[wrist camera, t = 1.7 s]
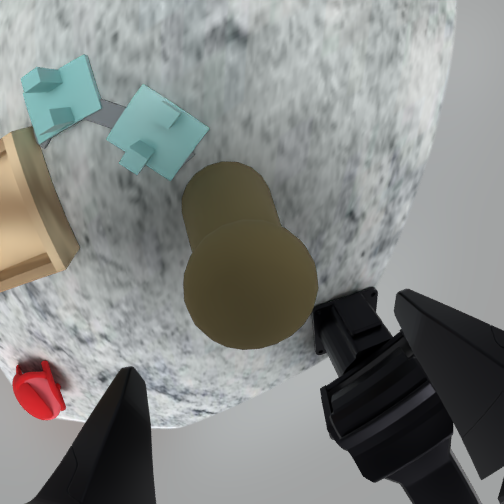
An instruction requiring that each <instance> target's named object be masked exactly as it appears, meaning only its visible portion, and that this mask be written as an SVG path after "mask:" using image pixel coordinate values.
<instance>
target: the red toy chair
mask: <svg viewBox="0 0 504 504" xmlns="http://www.w3.org/2000/svg"><path fill="white" fill-rule="evenodd" d="M41 365H42V368H43V371H42V372H27V373H24V374H22V371H21V369H20V367H19V365H17V366H16V375H15V376H14V378H13V391H14V394H15V396H16V398H17V400H18V402H19V403H20V405H21V406H22V407H23V408H24V409H25V410H26V411H27V412H28V413H29V414H31V415H32V416H34V417H36V418H38V419H41V420H51V419H54V418H56V417H57V416H58V415H59V413H60V410H61V411H64V410H65V409H66V406H65V403H64V400H63V397H62V394H61V392H60V389H61V386H60V384H58V383H56V384H55V382H54V379H53V376H52V373H51V370H50V367H49V363H48V361H46V360H44V361H42V362H41Z"/></svg>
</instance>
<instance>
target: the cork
mask: <svg viewBox="0 0 504 504" xmlns="http://www.w3.org/2000/svg"><path fill="white" fill-rule="evenodd" d="M182 215H183V219H184V223H185V227H186V231H187V234H188V238H189V242H190V246H191V250H192V254H191V256H190V258H189V261H188V264H187V267H186V270H185V273H184V282H183V286H184V302H185V304H186V307H187V309H188V311H189V313H190V316H191V318H192V320H193V322H194V324H195V325H196V326H197V327H198V328H199V329H200V330H201V331H202V332H203V333H205V334H206V335H207V336H208V337H209V338H210V339H212V340H213V341H215V342H217V343H219V344H221V345H224V346H226V347H230V348H236V349H242V350H247V349H260V348H264V347H267V346H271V345H274V344H277V343H279V342H281V341H283V340H284V339H286V338H288V337H290V336H292V335H293V334H294V333H295V332H296V331H297V330H298V329H299V328H300V327H302V326H303V325H304V323H305V322H306V320H307V319H308V317H309V315H310V314H311V312H312V310H313V307H314V304H315V300H316V296H317V292H318V280H317V272H316V267H315V263H314V261H313V259H312V257H311V256H310V254H309V252H308V250H307V248H306V247H305V246H304V244H303V243H302V242H301V240H299V239H298V238H297V237H296V236H294V235H293V234H292V233H291V232H289V231H288V230H287V229H285V228H283V227H281V224H280V221H279V218H278V214H277V211H276V208H275V205H274V202H273V199H272V196H271V193H270V190H269V187H268V186H267V184H266V182H265V181H264V179H263V177H262V176H261V175H260V174H259V173H257V172H256V171H255V170H254V169H253V168H251V167H249V166H247V165H244V164H241V163H238V162H219V163H215V164H212V165H208V166H206V167H205V168H203V169H202V170H201V171H199V172H198V173H196V174H195V175H194V176H193V178H192V179H191V180H190V181H189V183H188V184H187V185H186V188H185V191H184V194H183V197H182Z"/></svg>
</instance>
